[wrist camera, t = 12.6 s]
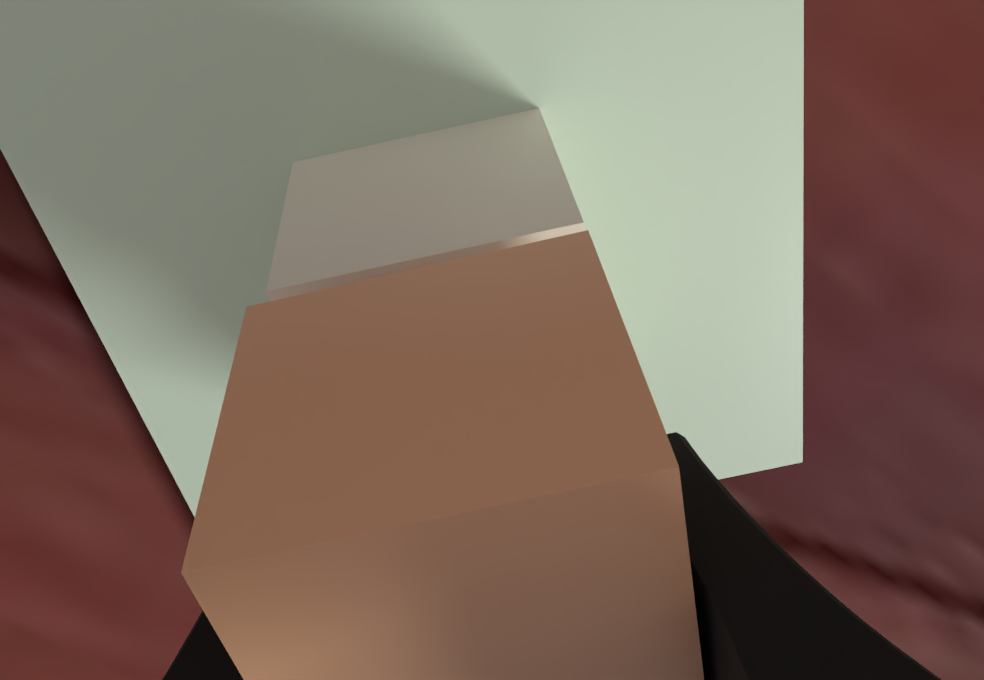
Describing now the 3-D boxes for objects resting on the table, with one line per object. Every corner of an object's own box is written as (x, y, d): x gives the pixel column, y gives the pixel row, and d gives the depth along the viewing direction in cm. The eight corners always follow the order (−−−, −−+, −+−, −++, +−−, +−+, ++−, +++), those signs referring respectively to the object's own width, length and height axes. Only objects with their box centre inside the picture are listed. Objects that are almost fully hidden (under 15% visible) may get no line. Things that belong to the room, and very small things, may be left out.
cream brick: (385, 433, 20) (384, 595, 17) (292, 162, 17) (265, 291, 13) (586, 390, 20) (632, 544, 16) (539, 107, 16) (583, 222, 13)
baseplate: (231, 561, 23) (228, 580, 22) (-69, -22, 15) (-84, -13, 14) (793, 445, 22) (802, 462, 22) (790, -217, 15) (804, -214, 14)
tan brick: (380, 624, 16) (377, 908, 12) (246, 306, 12) (181, 572, 8) (643, 569, 15) (723, 840, 12) (587, 229, 12) (679, 466, 8)
